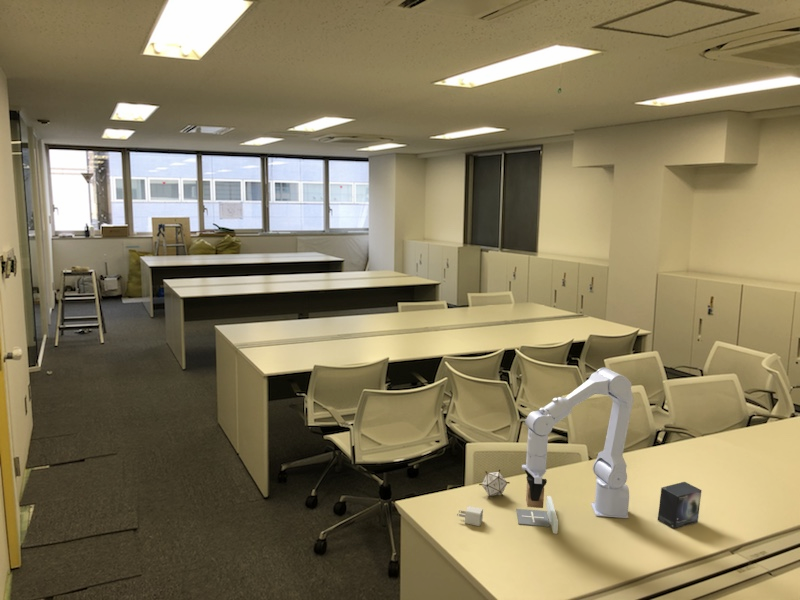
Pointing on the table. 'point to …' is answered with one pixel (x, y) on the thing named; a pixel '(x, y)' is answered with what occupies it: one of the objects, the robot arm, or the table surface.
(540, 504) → the walnut block
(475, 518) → the usb wall charger
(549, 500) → the frosted wall
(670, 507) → the small box
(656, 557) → the table surface
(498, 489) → the game die
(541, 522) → the pad
